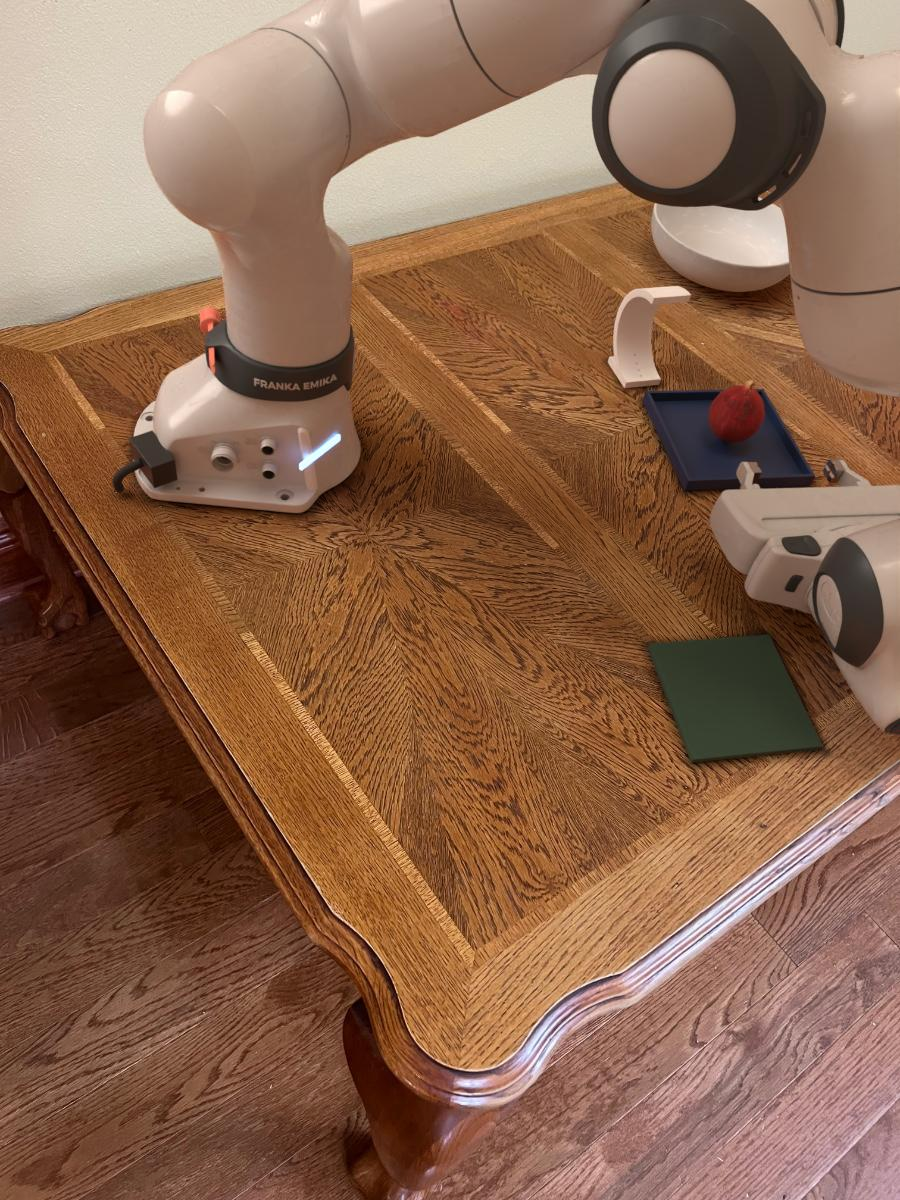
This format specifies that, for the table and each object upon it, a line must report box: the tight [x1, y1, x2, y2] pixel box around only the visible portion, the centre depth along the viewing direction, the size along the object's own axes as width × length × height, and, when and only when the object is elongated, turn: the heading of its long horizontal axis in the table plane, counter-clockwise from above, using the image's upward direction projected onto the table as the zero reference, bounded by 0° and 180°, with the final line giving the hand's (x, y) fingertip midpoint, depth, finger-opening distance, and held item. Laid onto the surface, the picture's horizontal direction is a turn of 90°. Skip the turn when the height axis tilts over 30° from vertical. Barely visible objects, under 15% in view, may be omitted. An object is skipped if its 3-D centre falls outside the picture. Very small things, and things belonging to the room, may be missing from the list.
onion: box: [708, 379, 765, 443], centre depth 102 cm, size 6×6×8 cm
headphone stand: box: [607, 285, 692, 389], centre depth 107 cm, size 5×6×12 cm
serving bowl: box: [650, 196, 790, 293], centre depth 127 cm, size 21×21×7 cm
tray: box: [642, 388, 816, 492], centre depth 105 cm, size 15×15×2 cm
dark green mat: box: [646, 633, 824, 764], centre depth 83 cm, size 12×12×1 cm
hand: (789, 465), depth 93 cm, fingers open, 8 cm apart
